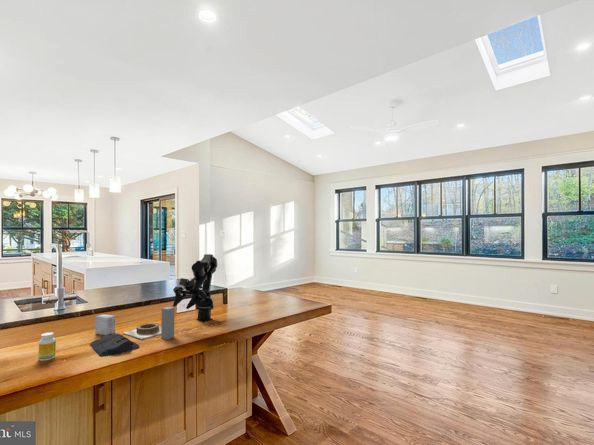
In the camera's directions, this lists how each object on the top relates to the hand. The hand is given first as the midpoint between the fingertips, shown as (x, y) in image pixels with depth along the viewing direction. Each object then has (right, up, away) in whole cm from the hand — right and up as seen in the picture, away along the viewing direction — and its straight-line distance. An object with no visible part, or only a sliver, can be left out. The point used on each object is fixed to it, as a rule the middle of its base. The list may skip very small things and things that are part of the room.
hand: (180, 307), depth 160 cm
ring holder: (-17, -13, +1) cm, 21 cm away
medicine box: (-36, -13, -1) cm, 38 cm away
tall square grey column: (-4, -13, -6) cm, 15 cm away
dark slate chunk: (-23, -13, -18) cm, 32 cm away
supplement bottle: (-41, -12, -31) cm, 53 cm away
